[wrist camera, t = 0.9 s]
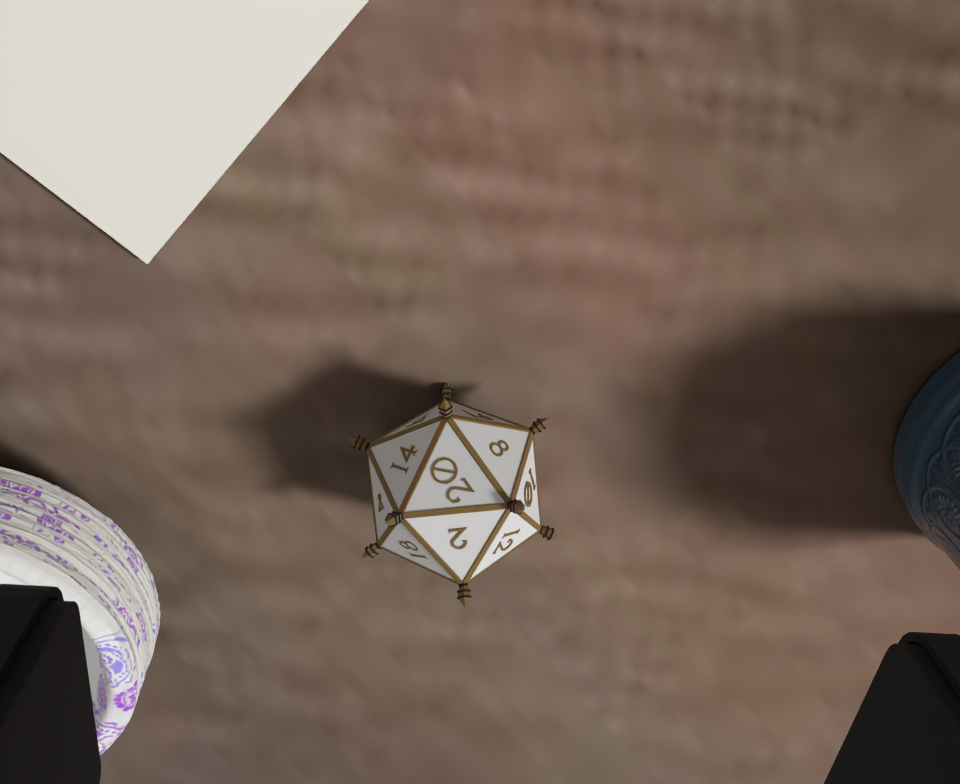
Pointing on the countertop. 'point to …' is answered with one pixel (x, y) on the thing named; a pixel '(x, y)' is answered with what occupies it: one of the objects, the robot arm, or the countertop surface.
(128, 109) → the mat
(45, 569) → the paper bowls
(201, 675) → the countertop surface
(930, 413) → the canister
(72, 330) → the countertop surface
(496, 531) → the game die
